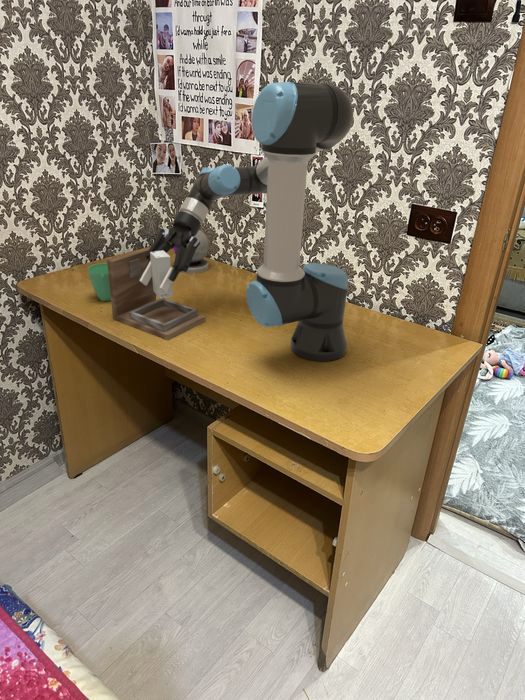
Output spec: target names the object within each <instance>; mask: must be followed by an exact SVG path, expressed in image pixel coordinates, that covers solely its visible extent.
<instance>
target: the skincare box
mask: <svg viewBox="0 0 525 700" xmlns="http://www.w3.org/2000/svg"><path fill="white" fill-rule="evenodd" d="M150 259H151V269H152V280H153V291H154V293H155V294H156V297H158V298H159V299H162V298H164V299H169V298H173V296H174V290H173V282H172V283H171V285H170V287H169V289H168V291H167V292H164V291H163V290H162V289H161V288H160V285H161V284H162V282H163V280H164V278H165V276H166V274H167V273H168V271H169V269H170V267H172V264H171V263H172V262H171V256H170V255H169V254H168V252H167V253H166V252H165V251H154V252H150Z"/></svg>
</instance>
